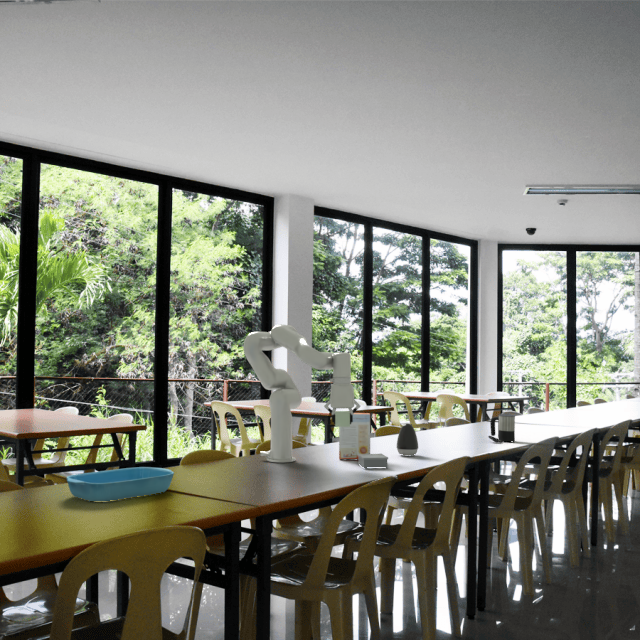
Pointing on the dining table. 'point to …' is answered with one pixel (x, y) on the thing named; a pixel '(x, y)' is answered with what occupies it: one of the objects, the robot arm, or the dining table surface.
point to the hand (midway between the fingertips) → (342, 423)
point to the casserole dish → (120, 483)
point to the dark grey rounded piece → (407, 440)
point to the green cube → (342, 418)
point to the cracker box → (355, 437)
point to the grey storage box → (372, 460)
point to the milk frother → (503, 428)
